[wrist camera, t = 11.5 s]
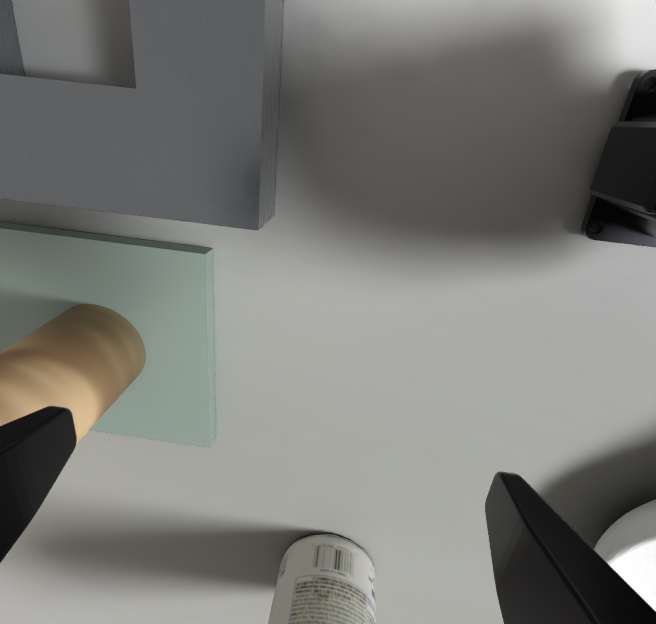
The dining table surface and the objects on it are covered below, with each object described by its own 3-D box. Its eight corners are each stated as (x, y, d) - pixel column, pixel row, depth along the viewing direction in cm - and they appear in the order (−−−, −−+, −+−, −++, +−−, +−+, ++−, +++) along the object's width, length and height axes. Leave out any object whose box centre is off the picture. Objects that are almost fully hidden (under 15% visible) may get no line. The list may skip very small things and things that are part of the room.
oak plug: (141, 310, 22) (-6, 433, 13) (149, 390, 24) (27, 540, 15) (47, 298, 22) (-157, 411, 13) (63, 378, 24) (-104, 520, 15)
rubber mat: (212, 248, 21) (205, 254, 20) (215, 436, 26) (210, 448, 25) (-18, 219, 21) (-36, 223, 21) (29, 409, 26) (16, 419, 26)
